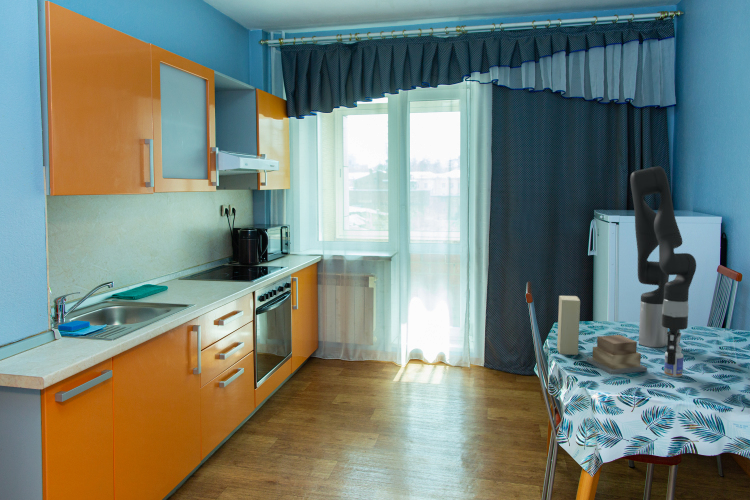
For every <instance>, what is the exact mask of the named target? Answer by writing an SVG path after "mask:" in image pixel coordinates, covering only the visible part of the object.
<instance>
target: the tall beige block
mask: <svg viewBox="0 0 750 500" xmlns="http://www.w3.org/2000/svg"><path fill="white" fill-rule="evenodd" d="M580 314H581V300H580V298H579V297H578V295H577V296H576V295H558V318H557V319H558V320H557V340H556V341H557V346H556V348H557V351H558V353H559V354H560V355H572V356H575V355H576V356H578V354H579V339H580V338H579V337H580V318H581V317H580V316H581V315H580Z"/></svg>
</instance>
